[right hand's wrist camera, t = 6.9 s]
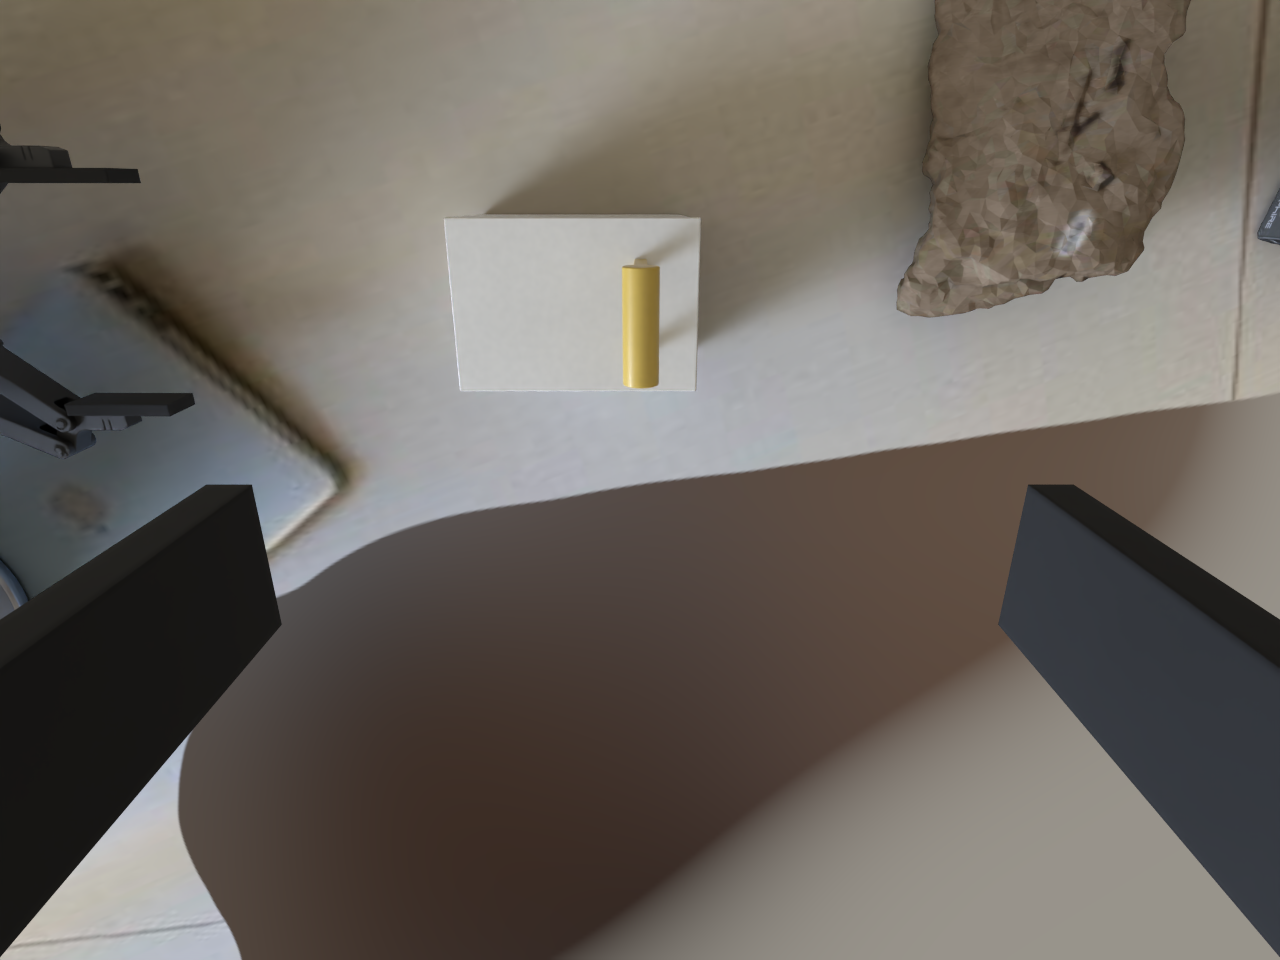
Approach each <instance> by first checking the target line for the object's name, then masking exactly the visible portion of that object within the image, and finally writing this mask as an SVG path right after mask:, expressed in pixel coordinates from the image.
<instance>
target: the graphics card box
mask: <svg viewBox="0 0 1280 960" xmlns="http://www.w3.org/2000/svg"><path fill="white" fill-rule="evenodd" d="M1258 239H1260V240H1263V241H1267V242H1270V243H1273V244H1279V245H1280V189H1279V191H1278V193H1277V195H1276V197H1275V200H1274V201H1273V202H1272V205H1271V207H1270V209H1269V211H1268V213H1267V215H1266V217H1265V219H1264V221H1263V222H1262V224H1261V226H1260V228H1259V231H1258Z"/></svg>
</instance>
